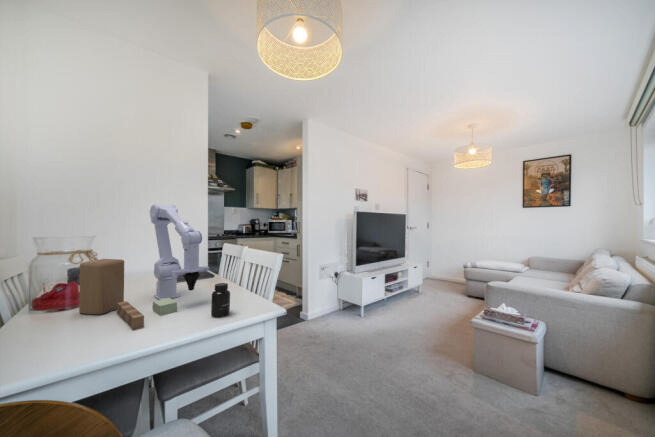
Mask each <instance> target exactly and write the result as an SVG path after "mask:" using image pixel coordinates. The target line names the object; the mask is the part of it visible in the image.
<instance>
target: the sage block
mask: <svg viewBox="0 0 655 437" xmlns="http://www.w3.org/2000/svg"><path fill="white" fill-rule="evenodd" d="M152 311H153V312H154V313H155V314H157V315H158V316H159V317H160V316H164V315H168V313H169V314H171V313H176V312H177V311H178V301H176V300H174V299H173V298H166V299H162V300H159V299H157V300H153V301H152Z"/></svg>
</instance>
